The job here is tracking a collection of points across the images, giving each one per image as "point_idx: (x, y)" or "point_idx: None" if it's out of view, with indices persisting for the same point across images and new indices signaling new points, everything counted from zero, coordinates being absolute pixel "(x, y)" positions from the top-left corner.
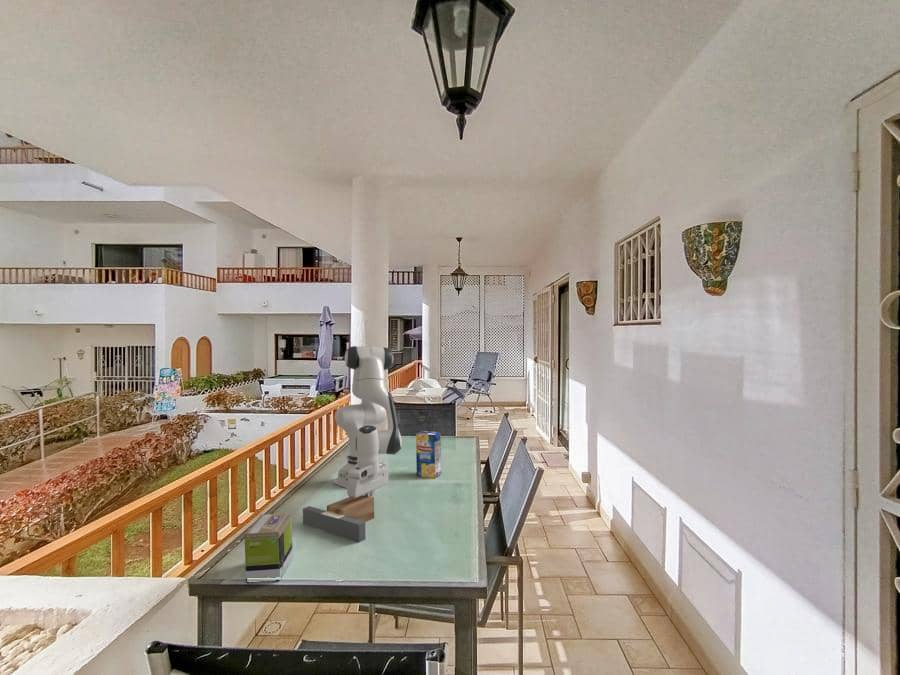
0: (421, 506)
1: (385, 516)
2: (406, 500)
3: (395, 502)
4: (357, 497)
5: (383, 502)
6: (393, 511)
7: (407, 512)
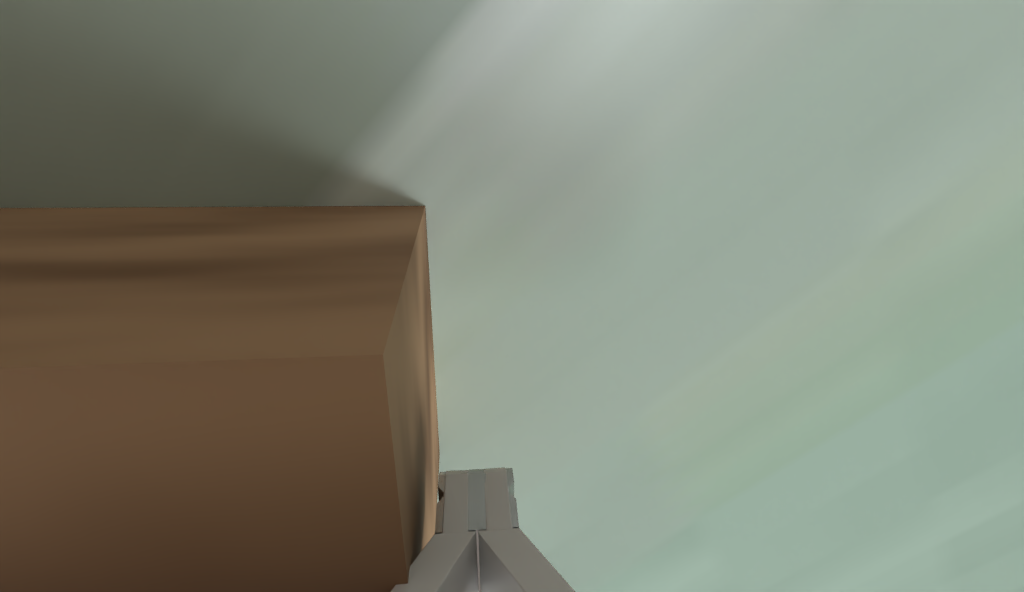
0: (869, 565)
1: (532, 503)
2: (1014, 383)
3: (936, 330)
4: (178, 551)
5: (914, 206)
6: (678, 477)
7: (703, 569)
